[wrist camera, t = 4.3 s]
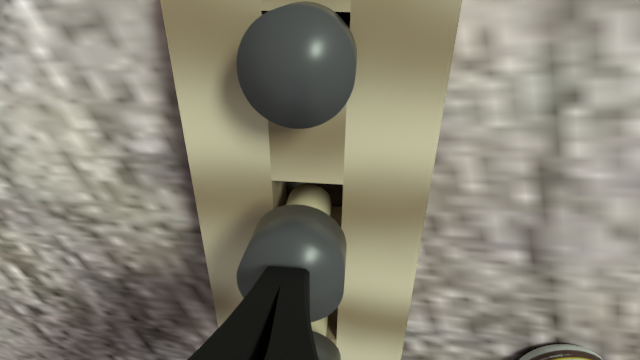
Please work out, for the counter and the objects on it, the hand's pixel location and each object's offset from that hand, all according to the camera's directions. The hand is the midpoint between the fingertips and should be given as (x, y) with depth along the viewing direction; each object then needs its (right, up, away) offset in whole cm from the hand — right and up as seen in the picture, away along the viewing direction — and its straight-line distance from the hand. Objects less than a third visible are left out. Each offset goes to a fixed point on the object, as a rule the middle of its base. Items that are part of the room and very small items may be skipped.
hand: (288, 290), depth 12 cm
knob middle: (+1, +3, +5) cm, 5 cm away
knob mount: (+1, +4, +7) cm, 8 cm away
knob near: (+1, +9, +4) cm, 10 cm away
